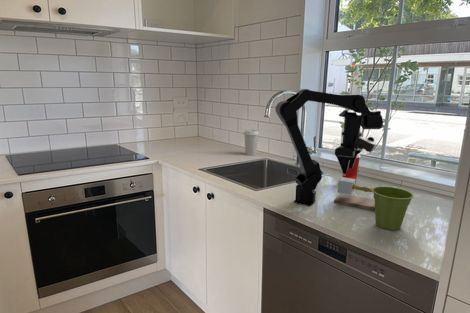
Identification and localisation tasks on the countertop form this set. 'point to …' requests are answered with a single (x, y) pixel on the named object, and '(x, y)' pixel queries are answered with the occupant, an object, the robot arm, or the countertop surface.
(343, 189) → the white cube with hole
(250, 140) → the coffee cup
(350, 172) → the paper cup
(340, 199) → the cord clamp board
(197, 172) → the countertop surface
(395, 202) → the plant pot
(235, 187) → the countertop surface
